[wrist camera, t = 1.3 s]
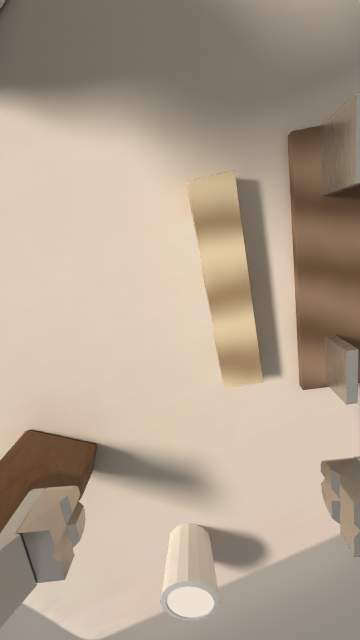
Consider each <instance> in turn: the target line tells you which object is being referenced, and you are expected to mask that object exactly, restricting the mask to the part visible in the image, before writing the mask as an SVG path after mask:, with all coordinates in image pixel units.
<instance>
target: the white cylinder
mask: <svg viewBox="0 0 360 640" xmlns="http://www.w3.org/2000/svg"><path fill="white" fill-rule="evenodd" d="M160 602H161V604H162V607H163V609H164V610H165V611H166V612H167V613H168V614H170V615H171V616H173V617H175V618H178V619H180V620H187V621H196V620H203V619H205V618H207V617H209V616H212V615H213V614H214V613H215V612H216V611H217V609H218V607H219V603H220V601H219V593H218V587H217V581H216V574H215V568H214V561H213V555H212V548H211V542H210V537H209V534H208V532H207V531H206V530H205V529H204V528H203V527H201V526H199V525H197V524H189V523H188V524H182V525H180V526H178V527H176V528H174V530H173V531H172V532H171V535H170V541H169V548H168V554H167V561H166V568H165V574H164V581H163V588H162V594H161V601H160Z"/></svg>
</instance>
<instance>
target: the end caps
mask: <svg viewBox="0 0 360 640" xmlns="http://www.w3.org/2000/svg"><path fill="white" fill-rule="evenodd" d="M321 151H322V196H323V195H329V194H334V193H337V192H340V191H343V190H346V189H349V188H351V187H354V186H357V185H360V93H357V94H356V95H355V96H354V97H352V98H351V99H350V100H349V101H348V102H347V103H346V104H345V105H343V106H342V107H341V108H340V109H339V110H338V111H337V112H336V113H335V114H333V115H332V116H331V117H330V118H329V119H328V120H327V121H326V122H325V123H323V124H322V125H321ZM325 374H326V384H327V385H328V386H329V387H330V388H331V389H332V390H333V391H334V392H335V393H336V394H337V395H338V396H339V397H340V398H341V399H342V400H343V401H344V402H345V403H346V404H355V403H357V401H358V349H357V348H355V347H354V346H352V345H351V344H349V343H347V342H346V341H344V340H343V339H341V338H339V337H338V336H336V335H328V336H325Z"/></svg>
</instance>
